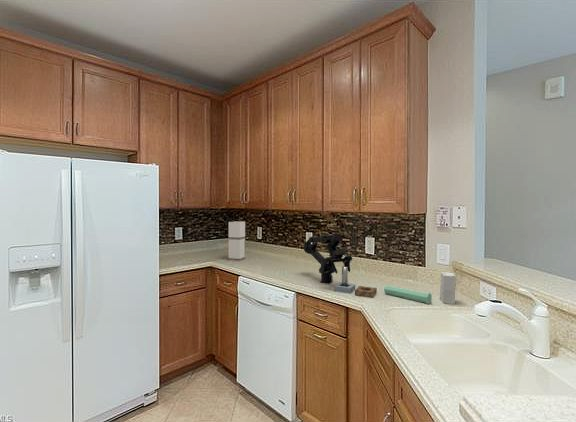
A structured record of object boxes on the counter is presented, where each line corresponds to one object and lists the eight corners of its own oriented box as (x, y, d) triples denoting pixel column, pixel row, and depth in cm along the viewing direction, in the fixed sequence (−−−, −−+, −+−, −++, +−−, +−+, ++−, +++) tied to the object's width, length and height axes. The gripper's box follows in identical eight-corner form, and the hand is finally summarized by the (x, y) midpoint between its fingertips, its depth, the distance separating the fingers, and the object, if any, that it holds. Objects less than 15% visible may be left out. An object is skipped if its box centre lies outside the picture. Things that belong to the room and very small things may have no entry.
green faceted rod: (383, 283, 172) (428, 291, 153) (388, 285, 175) (432, 294, 157) (381, 293, 170) (426, 303, 152) (386, 295, 174) (430, 305, 155)
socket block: (333, 291, 176) (333, 286, 176) (339, 287, 184) (339, 282, 184) (350, 293, 171) (350, 288, 171) (355, 289, 180) (355, 284, 180)
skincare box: (439, 298, 163) (439, 271, 162) (451, 299, 161) (452, 272, 161) (442, 303, 155) (443, 274, 154) (455, 304, 153) (456, 275, 153)
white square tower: (245, 259, 278) (245, 221, 278) (239, 261, 268) (239, 222, 267) (234, 258, 282) (234, 221, 281) (228, 260, 272) (228, 221, 271)
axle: (340, 290, 177) (340, 266, 177) (343, 289, 180) (343, 266, 180) (345, 291, 175) (346, 267, 175) (348, 290, 178) (348, 266, 178)
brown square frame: (354, 295, 168) (354, 290, 168) (359, 290, 177) (359, 285, 177) (372, 297, 163) (372, 292, 163) (376, 293, 172) (376, 288, 172)
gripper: (325, 244, 179) (336, 266, 169) (351, 242, 187) (362, 263, 177) (318, 255, 186) (328, 276, 177) (343, 253, 194) (353, 273, 185)
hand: (343, 272), depth 179 cm, fingers open, 9 cm apart
